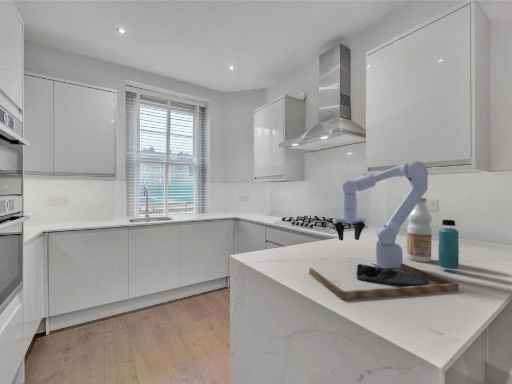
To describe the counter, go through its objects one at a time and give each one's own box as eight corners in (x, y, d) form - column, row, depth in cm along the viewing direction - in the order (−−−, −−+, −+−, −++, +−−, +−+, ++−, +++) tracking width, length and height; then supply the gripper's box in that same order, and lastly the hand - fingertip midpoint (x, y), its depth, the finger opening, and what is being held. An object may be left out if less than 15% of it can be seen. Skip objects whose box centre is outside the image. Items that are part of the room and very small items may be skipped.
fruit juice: (401, 257, 120) (402, 197, 119) (417, 256, 122) (418, 197, 122) (419, 263, 110) (420, 198, 110) (436, 261, 113) (437, 198, 113)
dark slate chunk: (429, 295, 77) (429, 279, 77) (352, 280, 89) (353, 266, 89) (428, 280, 90) (428, 267, 90) (361, 269, 102) (361, 257, 102)
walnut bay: (403, 268, 102) (403, 263, 102) (458, 290, 80) (458, 284, 80) (309, 273, 94) (309, 268, 94) (341, 299, 72) (342, 292, 72)
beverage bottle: (459, 274, 96) (461, 221, 96) (438, 271, 99) (439, 219, 99) (457, 270, 101) (458, 219, 101) (436, 267, 105) (438, 218, 105)
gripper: (358, 207, 117) (358, 237, 117) (329, 207, 114) (329, 238, 114) (368, 209, 110) (368, 240, 110) (337, 209, 107) (337, 241, 107)
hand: (348, 239), depth 111 cm, fingers open, 7 cm apart
